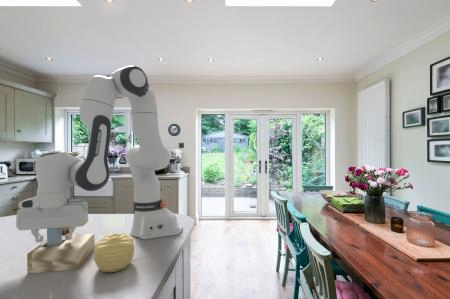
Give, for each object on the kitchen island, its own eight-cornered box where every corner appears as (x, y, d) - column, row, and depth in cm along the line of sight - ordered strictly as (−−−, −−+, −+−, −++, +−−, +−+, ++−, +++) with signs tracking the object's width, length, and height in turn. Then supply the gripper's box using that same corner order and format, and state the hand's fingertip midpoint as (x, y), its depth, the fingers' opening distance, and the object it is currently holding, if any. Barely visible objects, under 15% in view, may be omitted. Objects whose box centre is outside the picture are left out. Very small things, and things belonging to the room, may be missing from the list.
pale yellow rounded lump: (92, 281, 66) (91, 243, 66) (96, 262, 77) (96, 229, 77) (135, 272, 71) (134, 237, 71) (133, 255, 82) (133, 225, 82)
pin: (64, 253, 80) (64, 224, 80) (58, 258, 76) (58, 228, 76) (51, 254, 79) (50, 225, 79) (44, 259, 75) (44, 229, 75)
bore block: (94, 249, 87) (94, 233, 86) (78, 268, 73) (78, 249, 73) (52, 252, 84) (52, 236, 84) (27, 273, 70) (27, 253, 70)
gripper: (91, 196, 83) (91, 234, 83) (25, 198, 79) (26, 239, 79) (84, 200, 76) (84, 241, 77) (12, 203, 72) (13, 247, 73)
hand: (54, 240), depth 78 cm, fingers open, 7 cm apart
